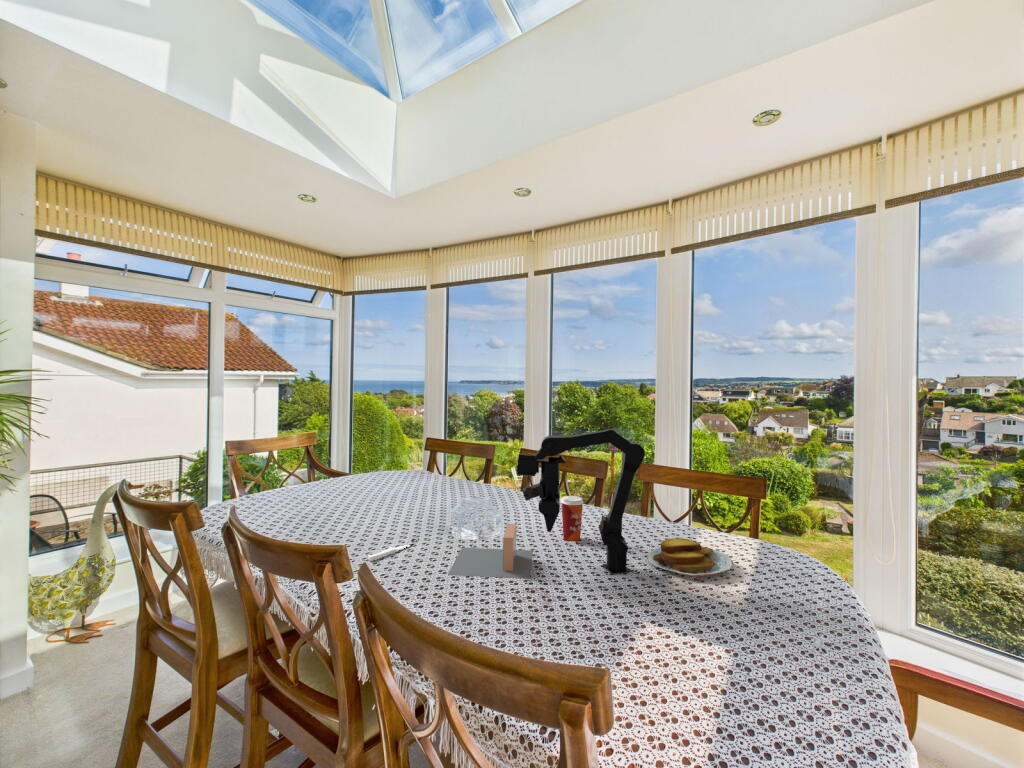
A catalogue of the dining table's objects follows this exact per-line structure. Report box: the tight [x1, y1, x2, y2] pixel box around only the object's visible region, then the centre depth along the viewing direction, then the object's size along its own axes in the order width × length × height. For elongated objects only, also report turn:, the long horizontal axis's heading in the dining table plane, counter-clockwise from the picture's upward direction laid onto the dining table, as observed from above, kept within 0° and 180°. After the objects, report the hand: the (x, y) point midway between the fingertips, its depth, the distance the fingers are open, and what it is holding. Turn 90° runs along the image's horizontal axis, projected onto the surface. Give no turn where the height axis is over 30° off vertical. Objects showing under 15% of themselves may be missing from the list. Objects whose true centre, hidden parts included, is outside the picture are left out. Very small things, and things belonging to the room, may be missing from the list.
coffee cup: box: [560, 495, 585, 543], centre depth 165 cm, size 8×8×15 cm
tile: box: [502, 523, 517, 571], centre depth 141 cm, size 3×13×10 cm, turn 175°
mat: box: [447, 547, 534, 580], centre depth 141 cm, size 24×22×1 cm
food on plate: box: [646, 537, 734, 582], centre depth 143 cm, size 25×25×7 cm
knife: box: [367, 544, 410, 562], centre depth 156 cm, size 31×6×2 cm, turn 156°
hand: (549, 526), depth 141 cm, fingers open, 9 cm apart
